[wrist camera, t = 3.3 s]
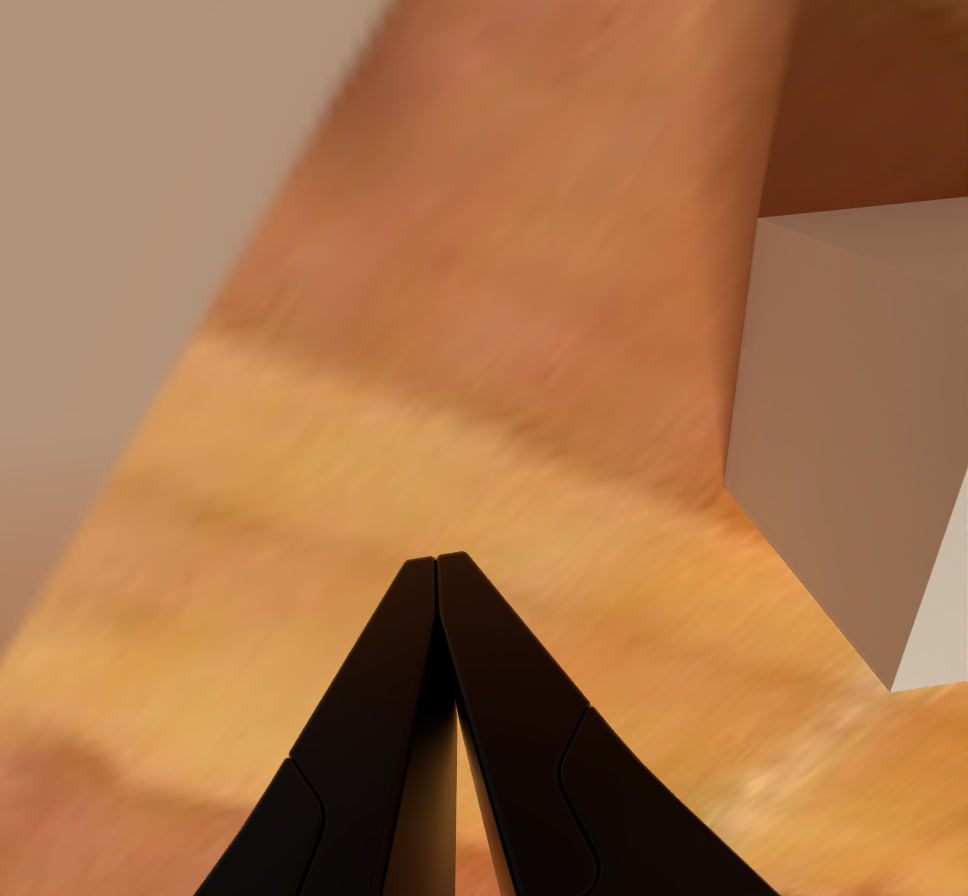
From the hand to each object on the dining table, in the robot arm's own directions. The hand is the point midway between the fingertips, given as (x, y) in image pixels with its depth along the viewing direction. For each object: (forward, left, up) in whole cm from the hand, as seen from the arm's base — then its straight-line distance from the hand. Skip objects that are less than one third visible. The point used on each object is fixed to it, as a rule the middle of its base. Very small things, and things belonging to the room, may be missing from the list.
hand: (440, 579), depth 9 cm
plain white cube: (-10, 0, -5) cm, 11 cm away
